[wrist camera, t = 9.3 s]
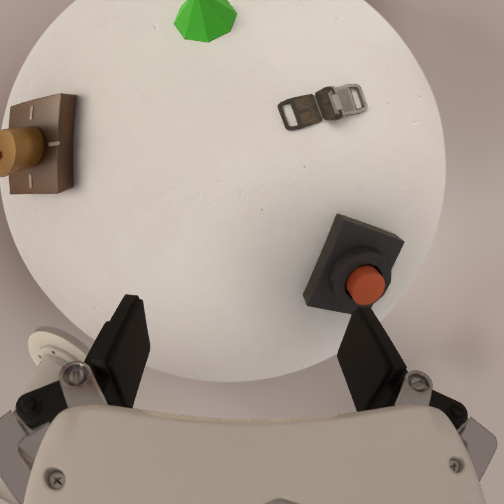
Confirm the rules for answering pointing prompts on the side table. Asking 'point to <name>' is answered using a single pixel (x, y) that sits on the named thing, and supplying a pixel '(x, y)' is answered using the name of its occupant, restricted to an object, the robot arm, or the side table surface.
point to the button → (365, 285)
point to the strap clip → (323, 105)
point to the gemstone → (205, 19)
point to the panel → (47, 144)
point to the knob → (20, 149)
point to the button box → (349, 262)
